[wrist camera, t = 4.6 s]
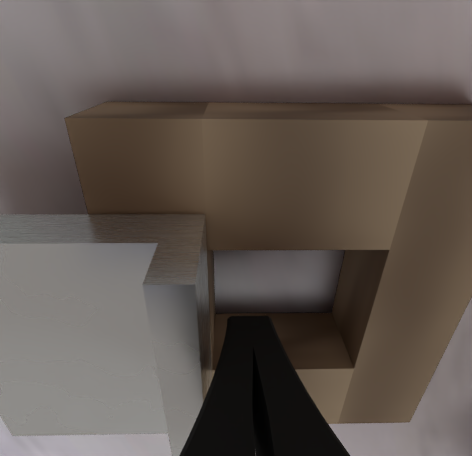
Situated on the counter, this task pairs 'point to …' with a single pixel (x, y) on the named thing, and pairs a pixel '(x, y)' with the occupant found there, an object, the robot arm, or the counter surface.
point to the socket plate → (313, 222)
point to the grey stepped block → (104, 324)
